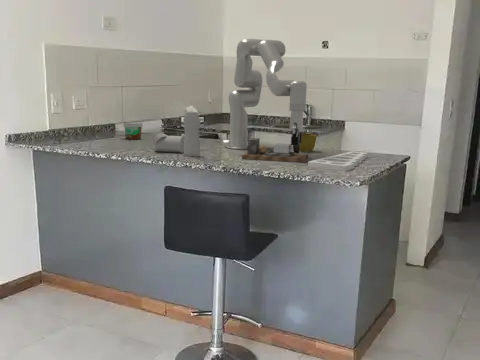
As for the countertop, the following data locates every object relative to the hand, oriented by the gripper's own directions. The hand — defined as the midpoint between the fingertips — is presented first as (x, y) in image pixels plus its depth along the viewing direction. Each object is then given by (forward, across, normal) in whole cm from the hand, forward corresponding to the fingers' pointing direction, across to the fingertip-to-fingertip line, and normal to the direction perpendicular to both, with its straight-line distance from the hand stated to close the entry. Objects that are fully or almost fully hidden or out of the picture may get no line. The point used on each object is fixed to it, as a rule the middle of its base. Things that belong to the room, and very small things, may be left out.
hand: (296, 144), depth 257 cm
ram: (+4, 0, -4) cm, 6 cm away
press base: (+8, 0, -10) cm, 12 cm away
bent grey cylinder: (+8, -7, -69) cm, 70 cm away
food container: (+9, -44, -108) cm, 117 cm away
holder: (+8, 0, +25) cm, 26 cm away
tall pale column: (+8, +5, -51) cm, 52 cm away
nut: (+6, 0, -16) cm, 17 cm away
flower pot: (+8, -31, 0) cm, 32 cm away
